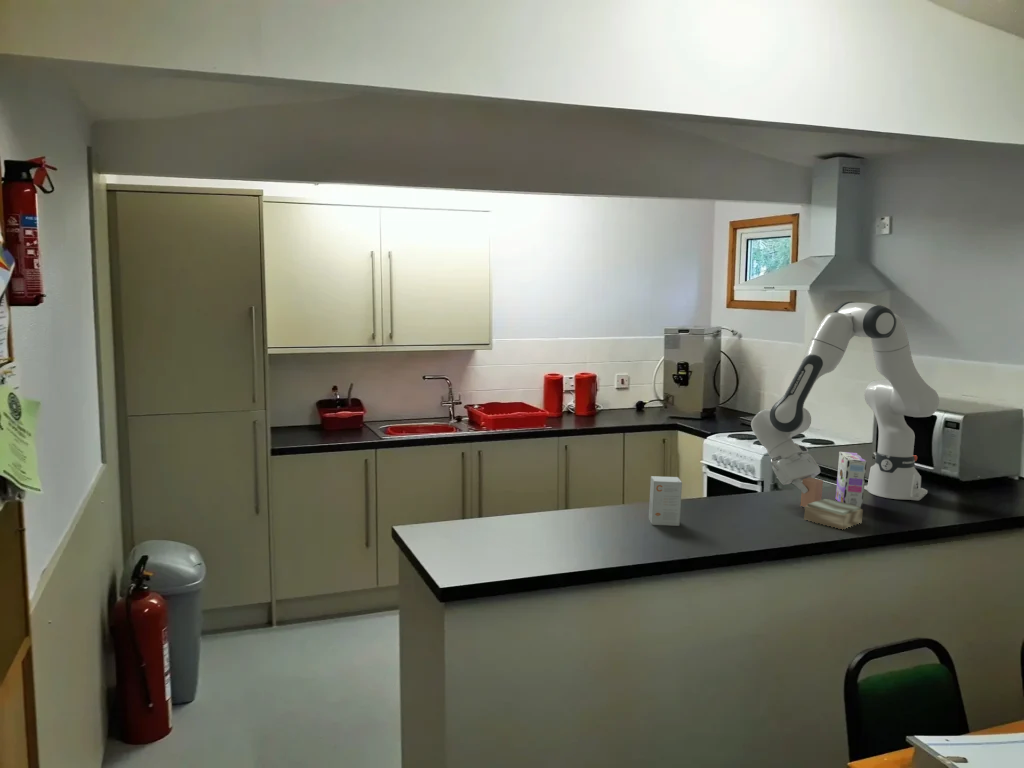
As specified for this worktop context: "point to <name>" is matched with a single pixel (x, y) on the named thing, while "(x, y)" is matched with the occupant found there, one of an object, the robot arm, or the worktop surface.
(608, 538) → the worktop surface
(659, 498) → the small box
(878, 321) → the robot arm
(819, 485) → the terracotta block
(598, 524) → the worktop surface
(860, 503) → the candy box
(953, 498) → the worktop surface
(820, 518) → the birch plinth
